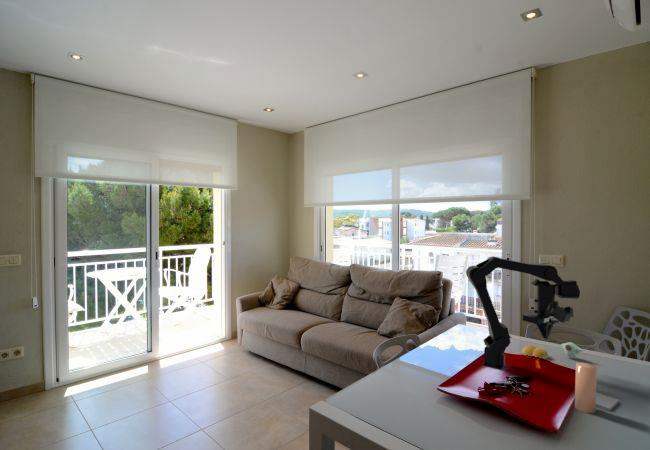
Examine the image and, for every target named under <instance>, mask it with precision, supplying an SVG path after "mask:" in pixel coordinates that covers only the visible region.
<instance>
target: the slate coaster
mask: <svg viewBox="0 0 650 450" xmlns="http://www.w3.org/2000/svg"><path fill="white" fill-rule="evenodd" d="M619 403H620V399H617V398H614V397H611V396H608V395H606V394H602V393H601V392H600V393H599V392H596V408H599V409H602V410H605V411H608V412H611V411H612V410H613V409H614V408H615V407H616V406H617V405H618V404H619Z"/></svg>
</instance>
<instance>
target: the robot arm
mask: <svg viewBox="0 0 650 450" xmlns="http://www.w3.org/2000/svg"><path fill="white" fill-rule="evenodd" d="M496 269H502V270H508V271H512V272H513V271H514V272H519V273H523V274H527V275H528V274H529V275H532V276H534V277H536V278H535V279H534V280H533V281H531V282H530V285H532V286H535V287H537V288H536V298H535V299H534V303H536V309H534V312H530V311H529V312H524V313H523V314H521V315H522V319H521V320H522V321H524V322H528V323H530V324H531V323H532V324H534V325H536V326H537V329H538V330H539V332H540V334H541V336H542V338H543V339H545V340H548V339H549V336H550V334H551V331H552V330H553V329H552V328H553V327H554V325H556V324H557V323H559V322H560V323H566V322H569V321H571V319H572V318H573V317H574V316H575V315H574V308H573V307H572V306H571V307H570V306H566V307H563V306H562V307H561V306H559V302H558V300H556V296H557V297H558V298H559V299H573V300H575V299H576V300H578V299H579V298H580V295H581V292H580V287H579V285H578V284H577V283H578V282H577V280H574V279H573V280H572V279H569V280H564V279H562V277H560V276H559V274H558V270H557V268H556V267H555V266H553V265H550V264H548V263H547V264H546V263H536V262H535V263H534V262H533V263H528V262H522V261H516V260H510V259H506V258H502V257H500V258H499V257H496V256H490V257H489V258H487V259H486V260H483V261H482V262H479V263H477V264H475V265H471V266H468V267H467V269H466V271H465V274H466V277H467V278H468V280H469V282H470V283H471V285H472V286H473V288H474V290H475V292H476V294H477V296H478V299H479V302H480V303H479V304H480V306H481V307H482V310H483V313H484V315H485V317H486V321H487V325H488V327H487V328H488V334H489V335H488V336H486V337H485V338H483V343H484V346H485V347H484V350H483V351H484V353H483V354H484V355H483V356H484V357H483V358H484V359H483V363H482V365H483V366H485V367H488V368H493V369H497V370H502V369H503V367H504V366H505V365H506V354H505V351H506V349H507V348H508V347H509V346H510V344H511V339H512V336H511V335H510V333H509V329H508V327H507V326H506V325H505V324H504V323H501V321H500V319H499V317H498V314H497V311H496V309H495V307H494V304H493V301H492V299H491V296H490V293H489V291H488V288H487V287H488V285H487V276H488V275H491V273H493V272H494V271H495V270H496ZM538 278H539V279H538ZM540 279H541V280H540ZM550 282H552V283H550Z"/></svg>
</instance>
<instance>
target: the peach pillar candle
mask: <svg viewBox="0 0 650 450" xmlns="http://www.w3.org/2000/svg"><path fill="white" fill-rule="evenodd" d="M597 370H598V367H597V366H596V365H594V364H592V363H587V362H581V361H580V362H575V381H574V382H575V383H574V384H575V385H574V398H575V399H574V408H575V409H577V410H578V411H580V412H582V413H586V414H594V413H596V408H597V407H596V393H597V374H598V371H597Z"/></svg>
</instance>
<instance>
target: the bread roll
mask: <svg viewBox="0 0 650 450" xmlns="http://www.w3.org/2000/svg"><path fill="white" fill-rule="evenodd" d="M521 351H522V354H523V355H524V356H526V355H528V356H535V357H539V358H543V359H544V360H547V359H548V358H549V354H548V351H547V350H546V349H543V348H539V347H535V346H534V345H531V344H530V345H529V344H528V345H526V346H525V347H523V349H522V350H521ZM528 356H527V357H528Z"/></svg>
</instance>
